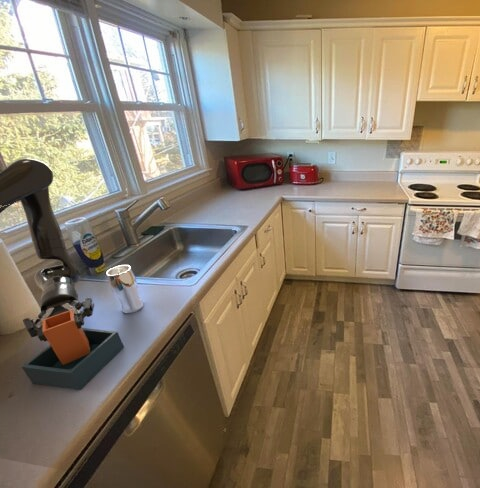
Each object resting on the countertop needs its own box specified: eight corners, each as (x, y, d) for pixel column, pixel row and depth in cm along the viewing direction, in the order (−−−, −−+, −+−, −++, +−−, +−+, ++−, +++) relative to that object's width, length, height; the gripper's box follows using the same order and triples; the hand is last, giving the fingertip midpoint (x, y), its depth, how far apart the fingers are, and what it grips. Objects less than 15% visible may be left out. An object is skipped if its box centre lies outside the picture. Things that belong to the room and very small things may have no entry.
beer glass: (119, 316, 91) (102, 277, 85) (123, 304, 97) (108, 267, 90) (143, 311, 94) (129, 272, 87) (146, 299, 99) (133, 262, 93)
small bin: (62, 365, 69) (42, 331, 64) (62, 352, 73) (42, 319, 68) (90, 353, 73) (73, 320, 68) (88, 341, 76) (72, 309, 71)
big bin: (32, 383, 69) (20, 366, 67) (82, 342, 81) (74, 327, 79) (80, 389, 67) (70, 373, 65) (124, 347, 79) (117, 331, 77)
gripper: (17, 299, 72) (11, 335, 61) (86, 278, 81) (93, 306, 70) (31, 322, 76) (28, 359, 64) (96, 299, 84) (104, 329, 73)
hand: (62, 331), depth 67 cm, fingers closed on small bin, 5 cm apart
